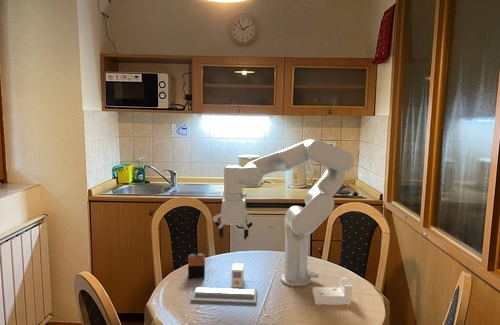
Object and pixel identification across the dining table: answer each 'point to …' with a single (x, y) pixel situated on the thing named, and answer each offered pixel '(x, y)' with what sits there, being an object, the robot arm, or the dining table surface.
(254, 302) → the mounting plate
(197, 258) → the battery
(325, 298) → the bracket
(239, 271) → the block
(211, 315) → the dining table surface
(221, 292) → the rail
